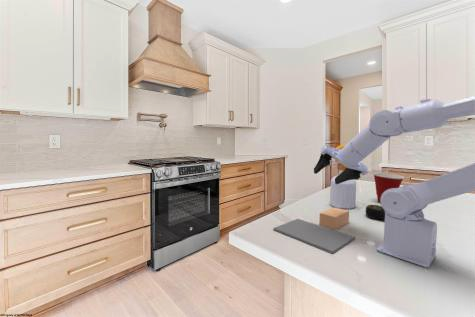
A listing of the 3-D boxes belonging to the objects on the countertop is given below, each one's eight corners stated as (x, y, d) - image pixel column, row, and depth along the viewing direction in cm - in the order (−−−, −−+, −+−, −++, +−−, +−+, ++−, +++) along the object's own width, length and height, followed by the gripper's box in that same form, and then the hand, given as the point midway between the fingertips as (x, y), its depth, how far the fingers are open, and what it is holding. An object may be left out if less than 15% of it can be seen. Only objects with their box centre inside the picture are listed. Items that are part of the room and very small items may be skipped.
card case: (348, 223, 71) (349, 210, 71) (335, 230, 66) (335, 217, 65) (333, 218, 75) (333, 207, 75) (319, 225, 69) (319, 213, 69)
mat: (355, 239, 59) (355, 236, 59) (332, 254, 52) (332, 251, 52) (297, 220, 73) (297, 218, 73) (273, 230, 66) (273, 228, 65)
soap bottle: (359, 209, 84) (362, 144, 82) (335, 209, 85) (337, 144, 82) (348, 202, 93) (350, 143, 91) (326, 202, 93) (328, 143, 91)
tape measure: (386, 223, 71) (387, 211, 71) (362, 217, 76) (363, 207, 75) (391, 217, 76) (391, 207, 75) (368, 213, 81) (369, 202, 80)
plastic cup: (404, 208, 85) (406, 177, 84) (371, 204, 91) (372, 175, 90) (401, 201, 95) (403, 173, 93) (371, 198, 100) (373, 171, 99)
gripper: (377, 150, 63) (343, 177, 73) (334, 127, 62) (305, 157, 71) (383, 167, 58) (346, 193, 68) (337, 143, 57) (305, 173, 66)
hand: (325, 176), depth 69 cm, fingers open, 7 cm apart
